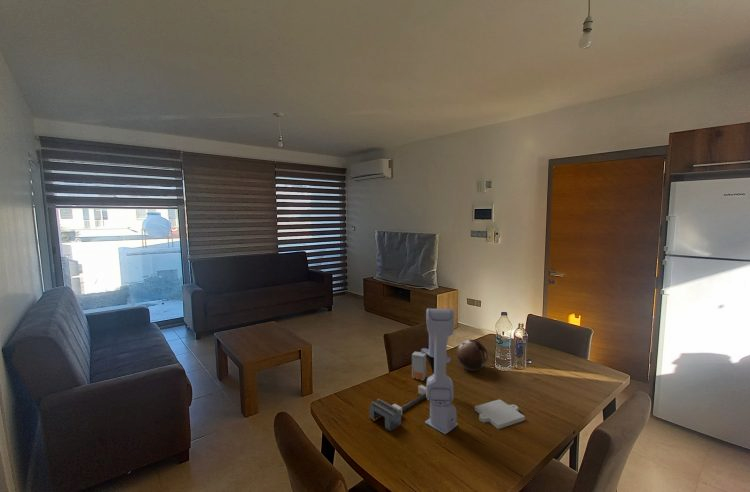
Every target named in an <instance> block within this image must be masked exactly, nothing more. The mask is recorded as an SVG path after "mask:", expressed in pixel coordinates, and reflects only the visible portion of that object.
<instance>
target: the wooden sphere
mask: <svg viewBox="0 0 750 492" xmlns="http://www.w3.org/2000/svg"><path fill="white" fill-rule="evenodd" d="M488 357H489V355H488V351H487V348H486V347H485V345H484V344H483V343H481V342H480V341H479V340H476V339H467V340H466V339H465V340H463V341H462V342H461V343H460V344H459V345H458V347H457V349H456V358H457V361H458V363H459V364H460V365H461V367H463V368H464V369H465V370H468V371H472V372H474V371H479V370H481V369H483V368H484V367H485V366H486V364H487V362H488Z"/></svg>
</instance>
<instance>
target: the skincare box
mask: <svg viewBox="0 0 750 492" xmlns="http://www.w3.org/2000/svg"><path fill="white" fill-rule="evenodd" d="M425 377H427V354H422V353H421V351H414V352H413V353H412V354H411V378H412V379H415V378H416V380H419V379H420V380H419V381H424V380H425V379H426V378H425Z"/></svg>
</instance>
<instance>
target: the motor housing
mask: <svg viewBox="0 0 750 492" xmlns="http://www.w3.org/2000/svg"><path fill="white" fill-rule="evenodd" d="M392 405H393V404H389V403H388V402H386V401H385V400H382V399H380V398H377V400H376V401H375V402H374V401H371V404H369V418H370V417H371V418H372V419H376V418H378V417H380V416H383V417H384V429H385V428H386V429H388V430H389V431H391V430H392V429H394V428H395V429H397V428H398V427H400V426H401V425H402V415H401V411H400V410H399V409H397V408H395V407H393V406H392ZM400 424H401V425H400ZM399 425H400V426H399ZM397 426H398V427H397ZM396 427H397V428H396ZM386 429H385V430H386ZM395 429H394V430H395ZM388 430H387V431H388ZM389 431H388V432H389ZM392 431H393V430H392ZM392 431H391V432H392Z"/></svg>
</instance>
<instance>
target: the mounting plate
mask: <svg viewBox="0 0 750 492" xmlns="http://www.w3.org/2000/svg"><path fill="white" fill-rule="evenodd" d="M474 411H475V412H476V413H478V420H479V421H480V422H482V423H490V424H492V425H493V426H494V427H495V428H496V429H498V430H499V429H503V428H505V427H509V426H511V425H515V424H517V423H521V422H523V421H525V420H526V416H525V415H524V414H522V413H521V412H519V406H518V405H516V404H508V403H506V402H505V401H503V400H501V399H500V398H499V399H496V400H492V401H488V402H485V403H482V404H479V405H475V406H474Z"/></svg>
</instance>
